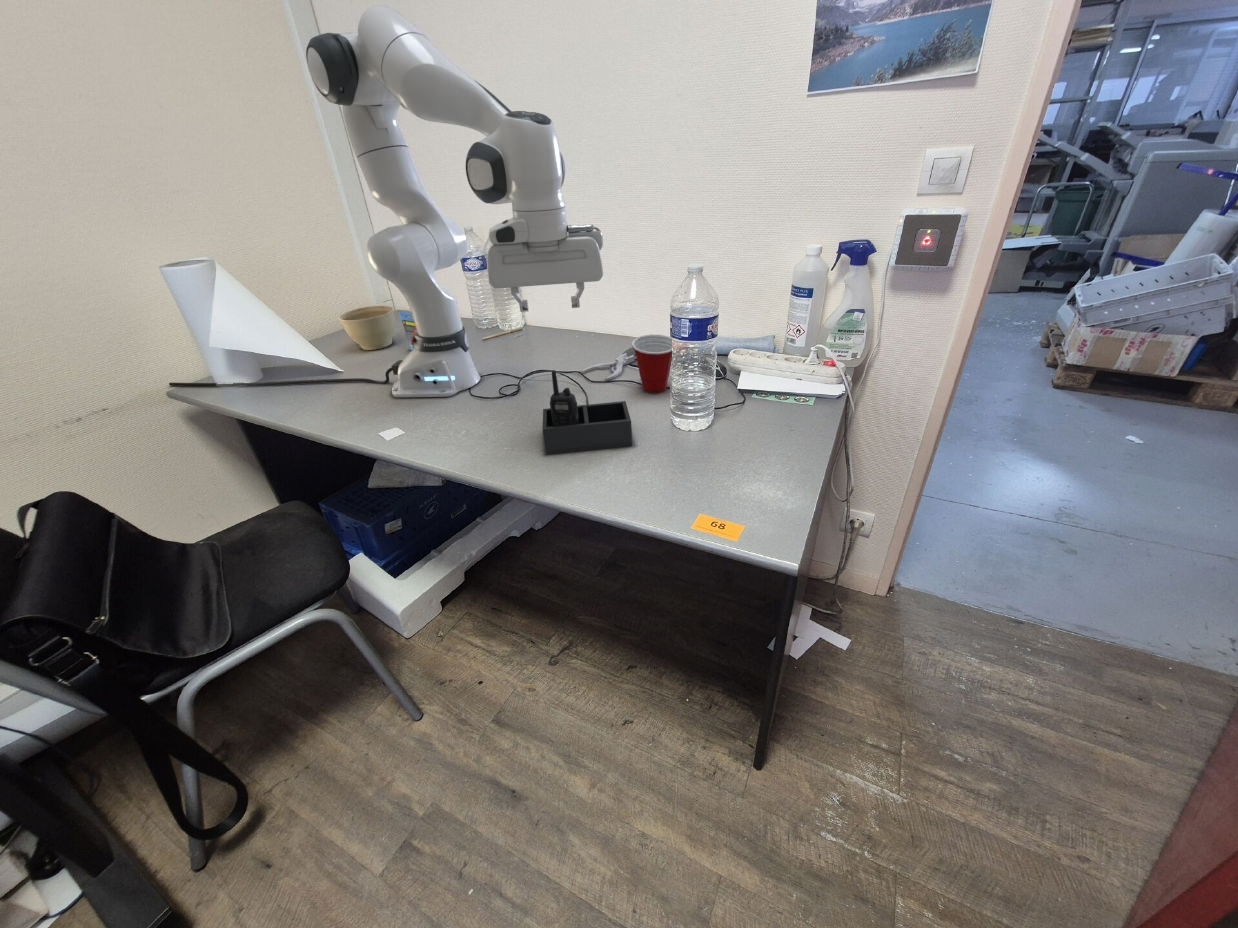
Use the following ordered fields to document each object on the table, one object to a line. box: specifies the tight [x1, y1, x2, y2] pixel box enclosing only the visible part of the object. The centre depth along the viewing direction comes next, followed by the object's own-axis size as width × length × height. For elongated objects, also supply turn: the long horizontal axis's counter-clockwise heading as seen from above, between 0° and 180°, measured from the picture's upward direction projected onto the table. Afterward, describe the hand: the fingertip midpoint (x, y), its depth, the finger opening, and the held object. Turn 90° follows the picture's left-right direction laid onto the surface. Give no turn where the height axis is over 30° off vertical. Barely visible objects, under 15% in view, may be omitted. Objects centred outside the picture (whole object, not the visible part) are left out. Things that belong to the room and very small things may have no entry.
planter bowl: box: [338, 305, 396, 351], centre depth 161 cm, size 16×16×11 cm
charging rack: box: [541, 400, 633, 456], centre depth 103 cm, size 9×17×6 cm, turn 96°
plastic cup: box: [631, 333, 673, 394], centre depth 121 cm, size 11×11×12 cm
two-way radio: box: [549, 369, 579, 427], centre depth 100 cm, size 6×4×15 cm
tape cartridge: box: [398, 310, 417, 351], centre depth 154 cm, size 9×4×12 cm, turn 58°
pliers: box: [580, 352, 636, 382], centre depth 137 cm, size 10×2×15 cm
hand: (550, 309), depth 93 cm, fingers open, 8 cm apart
